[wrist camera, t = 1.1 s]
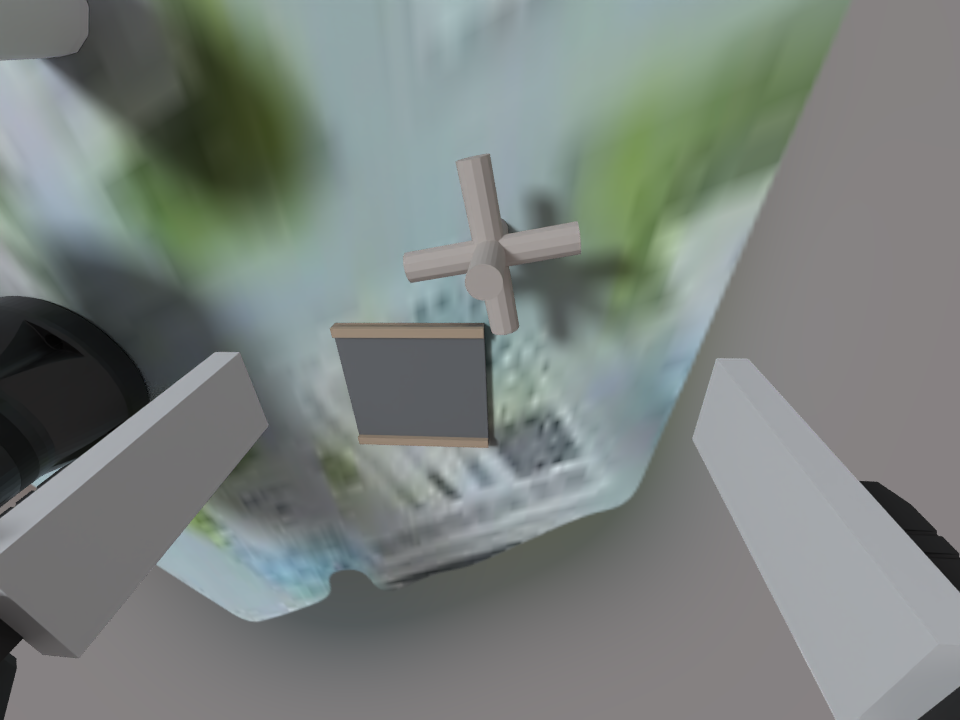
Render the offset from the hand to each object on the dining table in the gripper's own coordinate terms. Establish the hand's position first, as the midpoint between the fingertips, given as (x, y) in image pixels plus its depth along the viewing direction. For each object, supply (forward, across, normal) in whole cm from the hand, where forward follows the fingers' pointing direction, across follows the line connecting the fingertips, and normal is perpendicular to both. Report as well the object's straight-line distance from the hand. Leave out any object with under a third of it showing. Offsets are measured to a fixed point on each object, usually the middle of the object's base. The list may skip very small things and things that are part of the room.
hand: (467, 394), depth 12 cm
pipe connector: (+19, 0, 0) cm, 19 cm away
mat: (+19, -7, -13) cm, 24 cm away
